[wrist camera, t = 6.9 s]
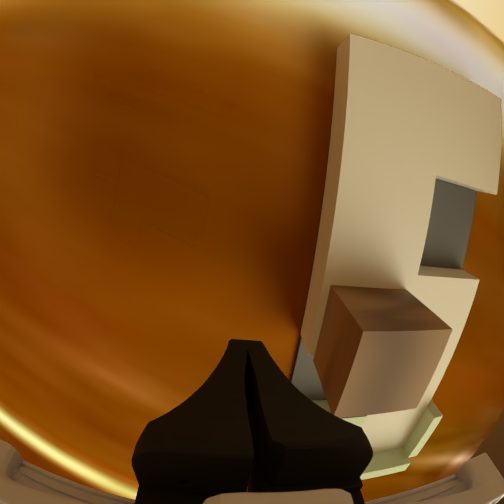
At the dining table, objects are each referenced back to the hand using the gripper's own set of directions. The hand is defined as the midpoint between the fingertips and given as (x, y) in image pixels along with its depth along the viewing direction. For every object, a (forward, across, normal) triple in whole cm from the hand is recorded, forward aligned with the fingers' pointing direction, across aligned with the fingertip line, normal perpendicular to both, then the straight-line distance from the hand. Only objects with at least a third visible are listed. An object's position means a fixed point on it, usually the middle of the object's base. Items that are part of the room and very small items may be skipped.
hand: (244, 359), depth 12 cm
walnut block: (+4, -7, 0) cm, 8 cm away
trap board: (+7, -10, -1) cm, 12 cm away
